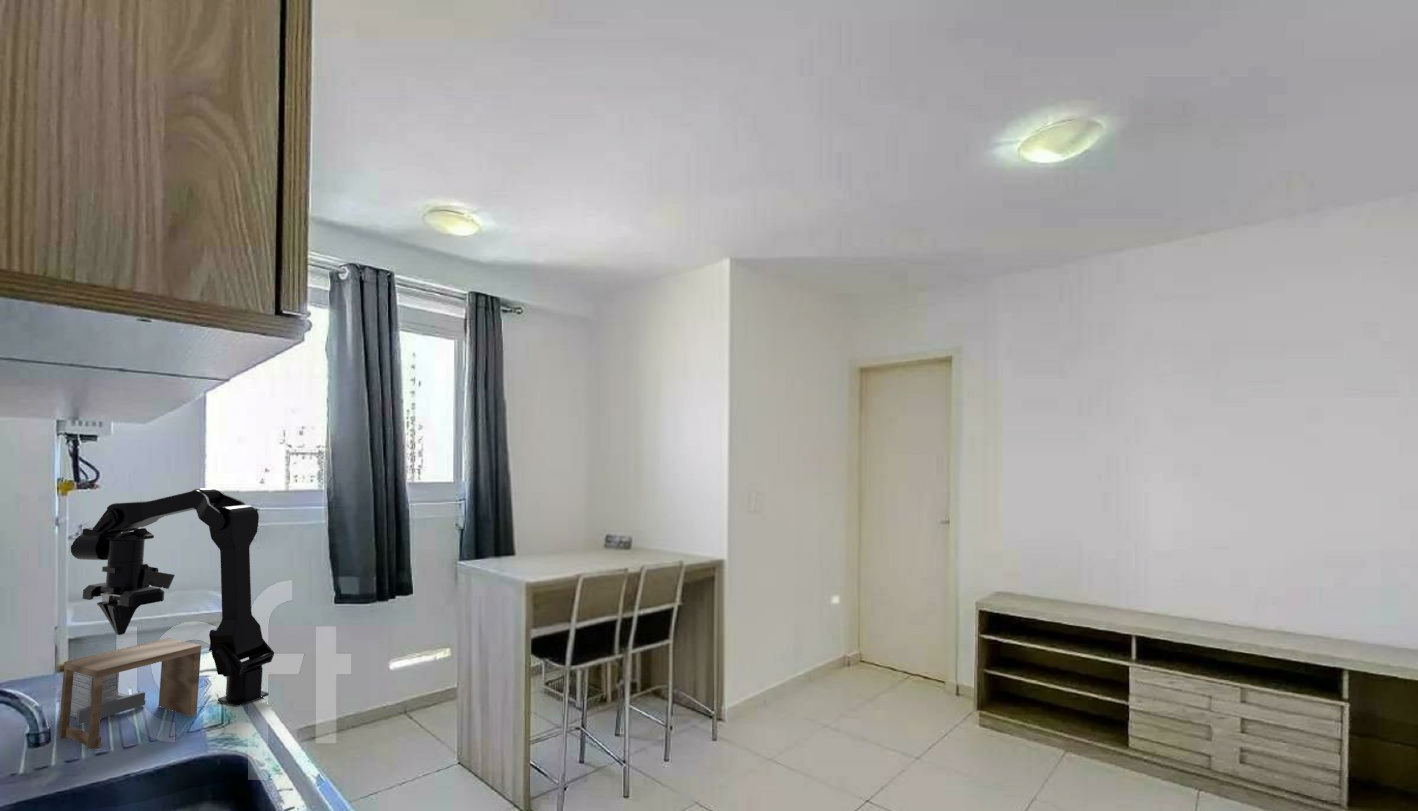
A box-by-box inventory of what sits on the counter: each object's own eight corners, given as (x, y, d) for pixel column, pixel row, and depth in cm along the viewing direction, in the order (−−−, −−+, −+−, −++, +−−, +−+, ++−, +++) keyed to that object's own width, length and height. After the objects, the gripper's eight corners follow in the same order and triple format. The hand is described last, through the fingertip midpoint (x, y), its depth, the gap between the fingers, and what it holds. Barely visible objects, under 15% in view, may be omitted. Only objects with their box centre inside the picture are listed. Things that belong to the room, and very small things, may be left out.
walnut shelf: (196, 714, 123) (201, 645, 124) (90, 749, 109) (96, 671, 109) (164, 704, 128) (169, 638, 128) (58, 737, 113) (64, 661, 114)
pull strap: (150, 703, 127) (152, 673, 127) (78, 725, 117) (81, 692, 117) (90, 685, 136) (92, 657, 137) (19, 704, 126) (21, 673, 126)
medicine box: (117, 714, 123) (120, 668, 123) (87, 723, 119) (91, 676, 119) (96, 707, 126) (99, 662, 127) (66, 715, 122) (70, 669, 123)
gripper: (194, 557, 140) (189, 629, 139) (145, 552, 147) (141, 620, 146) (132, 566, 130) (127, 643, 129) (83, 559, 137) (78, 633, 136)
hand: (120, 634), depth 135 cm, fingers closed
